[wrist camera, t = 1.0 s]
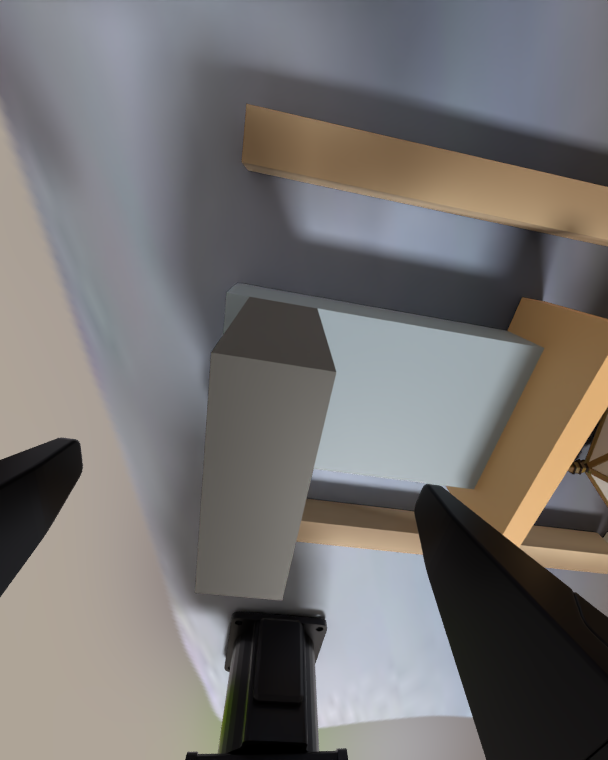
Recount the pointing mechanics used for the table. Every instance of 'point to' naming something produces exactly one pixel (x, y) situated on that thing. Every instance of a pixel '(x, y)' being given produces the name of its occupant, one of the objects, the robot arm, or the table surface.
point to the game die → (596, 460)
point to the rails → (447, 194)
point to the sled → (384, 417)
